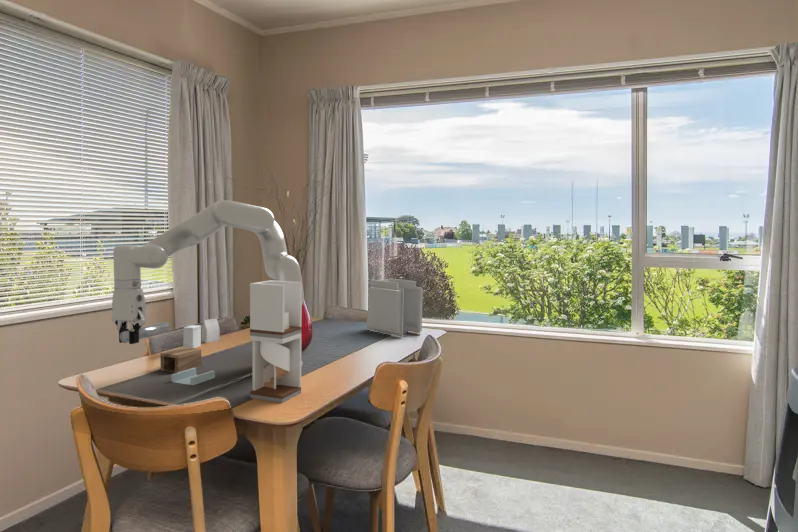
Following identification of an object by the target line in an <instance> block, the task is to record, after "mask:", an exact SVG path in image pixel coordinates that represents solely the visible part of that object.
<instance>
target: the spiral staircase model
mask: <svg viewBox="0 0 798 532" xmlns="http://www.w3.org/2000/svg"><path fill="white" fill-rule="evenodd" d="M302 283H303V281H302V282H290V281H275V280H274V279H272V280H263V281H257V282H250V283H249V340H250V341H252V344H251V345H252V355H251V356H252V360H251V362H252V364H251V365H252V371H251V372H252V373H251V374H252V376H251V377H252V379H251V380H252V390H250V391H249V395H250V396H249V398H250V399H255V400H262V401H268V402H275V403H280V402H281V404H282V403H285V402H286V401H288V400H291V399H293V398H294V397H297V396H298V395H300V394H301V393H302V367H301V361H302V331H303V330H302V321H303V320H302V318H303V317H302V316H303V314H302V313H303V312H302V310H303V308H302V307H303V304H302ZM292 397H293V398H292ZM290 398H291V399H290Z"/></svg>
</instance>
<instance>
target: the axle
mask: <svg viewBox="0 0 798 532" xmlns="http://www.w3.org/2000/svg"><path fill="white" fill-rule="evenodd" d="M170 330H171V325H170V323H169V322H167V321H162V322H158V323H155V324H150V325H146V326H141V328H140V330H139V340H141V339H142V340H143V339H146V338H150V337H153V336H158V335H161V334H166V333H169V332H170ZM130 331H131V330H130V329H129V330H128V331H124V332H121V333H120V340H121V342H123V343H122V344H127V343H129V332H130Z"/></svg>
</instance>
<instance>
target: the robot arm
mask: <svg viewBox="0 0 798 532" xmlns="http://www.w3.org/2000/svg"><path fill="white" fill-rule="evenodd" d="M226 227H232V228H236V229H243V230H246V231H248V232H252V233H254V234H255V235H256V236H257V238H258V240H259V242H260V247H261V252H262V257H263V265H264V271H265V274H266V275H267V276H268V277H269V278H270V279H272V280H274V281H290V282H302V305H303V304H304V301H305V292H304V285H303V279H302V270H301V267H300V266H301V265H300V264H299V262H298V260H297V259H296V258H295V257H294V256H292V255H290V254H288V251H287V245H286V240H285V236H284V232H283V230H282V228H281V227H280V225H279V223H278V222H277V221H276V220H275V215H274V213H273V211H271V210H270V209H269V208H267V207H263V206H260V205H259V206H258V205H254V204H249V203H244V202H240V201H235V200H229V199H227V200H226V199H225V200H218V201H216V202H214V203H212V204H211V205H208V206H206V207H205V208H203V209H202V210H201V211H199V212H197V213H196V214H194V215H192V216H191V217H189V218H187V219H186V220H184V221H182V222H180V223H179V224H176V226H174V227H172V228H170V229H169V230H167V231H165V232H163V233H162V234H160V235H158V236H156V237H155V238H153V239H152V240H150V241H148V242H146V243H145V244H143V245H140V246H137V245H134V244H133V245H132V244H130V245H127V244H126V245H125V244H123V245H116V246H114V248H113V249H112V251H113V252H112V253H113V254H112V255H113V257H112V258H113V260H112V261H113V291H112V293H113V294H112V302H111V310H112V311H111V313H112V316H111V321H112V322H113V323H114V324H115V325H116V327H117V328H116V329H117V330H118V339H119V341H118V342H119V344H124V343H123V342H121V340H120V333H121V332H124V331H128V330H131V331H130V332H129V342H128V343H129V345H134V344H139V343H140V339H139V330H140V328H141V327H143V325H145V324H146V323H147V321H146V319H147V305H146V299H145V298H146V297H145V293H144V290H143V288H142V281H141V280H142V277H141V271H142V269H143V268H144V269H145V268H146V269H159V268H162V267H164V266H165V265H166V263H167V261H168V260H169V259H168V258H169V257H170V256H172V255H174V254H175V253H178V252H179V251H181V250H183V249H186V248H189V247H192V246H196V245H198V244H200V243H202V242H203V241H205V240H207V239H208V238H209V237H211V236H212V235H214V234H216V233H217V232H219V231H220V230H222V229H223V228H226ZM141 268H142V269H141ZM128 324H129V328H128ZM303 364H304V361H303V360H301V368H302V366H303Z"/></svg>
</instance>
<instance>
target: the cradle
mask: <svg viewBox="0 0 798 532" xmlns="http://www.w3.org/2000/svg"><path fill="white" fill-rule="evenodd" d="M170 376H171V377H170V379H171V380H170V381H171V383H177V384H181V385H187V386H195V385H199V384H201V383H204V382H207V381H210V380H212V379H215V378H216V371H215V370H209V371H207V372H204V373H200V374H197V367H196V368H191V369H188V370H185V371H181V372H178V373H175V372H174V373H171V375H170Z"/></svg>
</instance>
